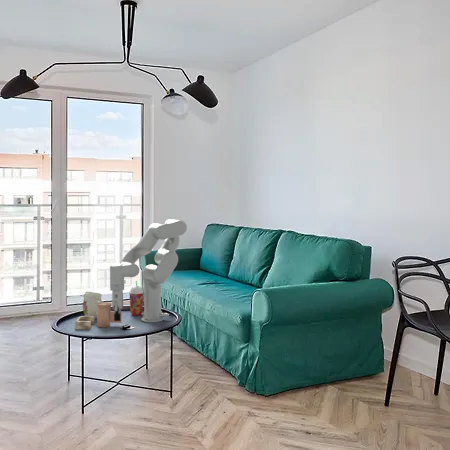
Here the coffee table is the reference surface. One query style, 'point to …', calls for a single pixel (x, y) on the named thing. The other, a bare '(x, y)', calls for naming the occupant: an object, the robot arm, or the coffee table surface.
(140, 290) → the smoothie
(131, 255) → the robot arm
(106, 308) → the peach cylinder
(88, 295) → the pitcher
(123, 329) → the coffee table surface
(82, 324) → the holder
